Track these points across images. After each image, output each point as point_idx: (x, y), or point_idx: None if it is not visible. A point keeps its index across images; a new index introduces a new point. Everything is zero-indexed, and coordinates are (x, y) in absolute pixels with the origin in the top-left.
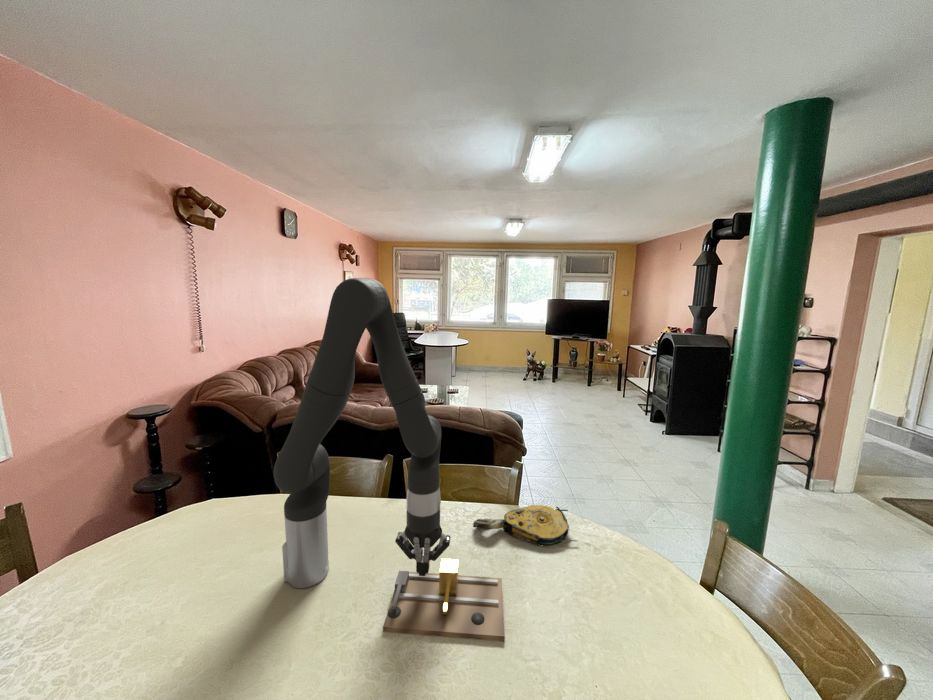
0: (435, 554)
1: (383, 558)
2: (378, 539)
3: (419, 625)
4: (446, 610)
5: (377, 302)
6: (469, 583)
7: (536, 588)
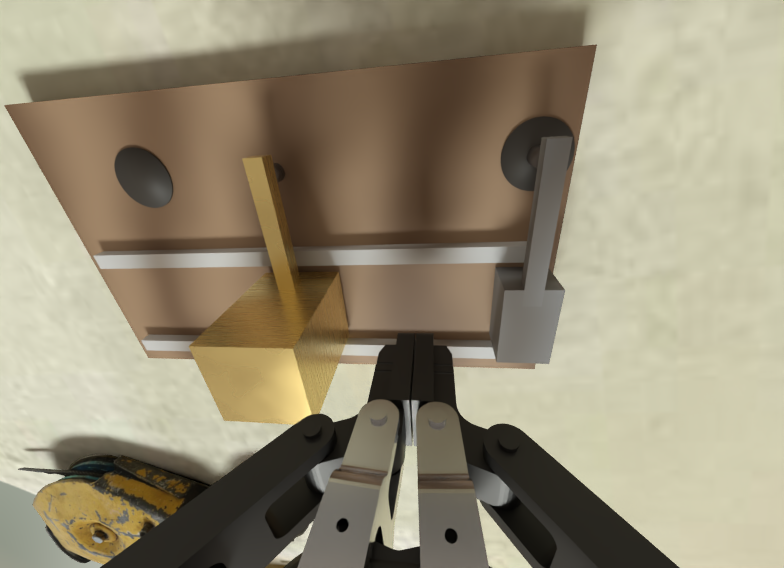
0: (284, 467)
1: (608, 417)
2: (634, 483)
3: (386, 93)
4: (244, 159)
5: None
6: None
7: (55, 332)
